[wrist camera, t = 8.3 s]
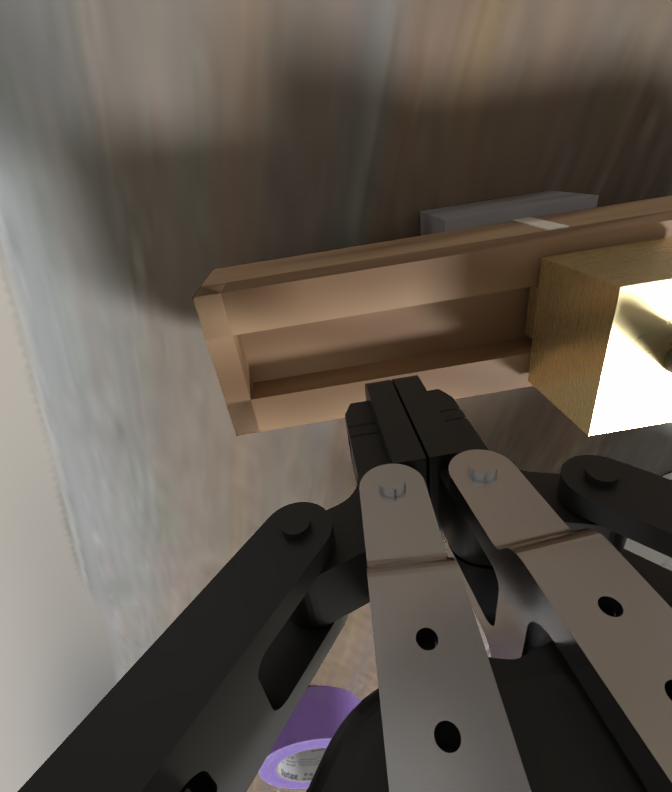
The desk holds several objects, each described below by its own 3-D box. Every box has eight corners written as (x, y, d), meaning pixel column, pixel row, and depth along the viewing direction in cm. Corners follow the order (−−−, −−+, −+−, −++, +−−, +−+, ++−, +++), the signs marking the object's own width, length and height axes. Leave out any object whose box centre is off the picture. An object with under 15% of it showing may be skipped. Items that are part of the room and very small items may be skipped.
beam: (223, 242, 21) (188, 283, 14) (741, 159, 22) (970, 156, 14) (254, 362, 25) (239, 445, 18) (700, 288, 25) (868, 339, 18)
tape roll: (360, 677, 45) (368, 733, 40) (364, 726, 51) (371, 779, 46) (252, 693, 44) (248, 751, 40) (268, 741, 50) (266, 796, 46)
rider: (521, 249, 16) (722, 324, 8) (646, 229, 16) (954, 285, 9) (510, 365, 18) (659, 500, 11) (619, 347, 18) (839, 469, 11)
